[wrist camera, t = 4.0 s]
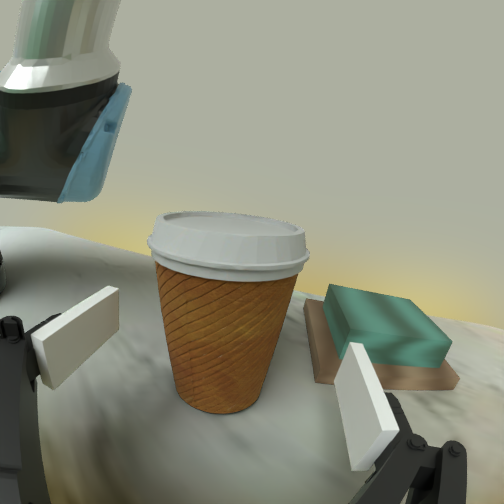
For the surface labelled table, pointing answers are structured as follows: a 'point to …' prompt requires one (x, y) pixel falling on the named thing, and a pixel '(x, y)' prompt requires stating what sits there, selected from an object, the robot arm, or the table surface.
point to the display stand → (378, 339)
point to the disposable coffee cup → (224, 300)
